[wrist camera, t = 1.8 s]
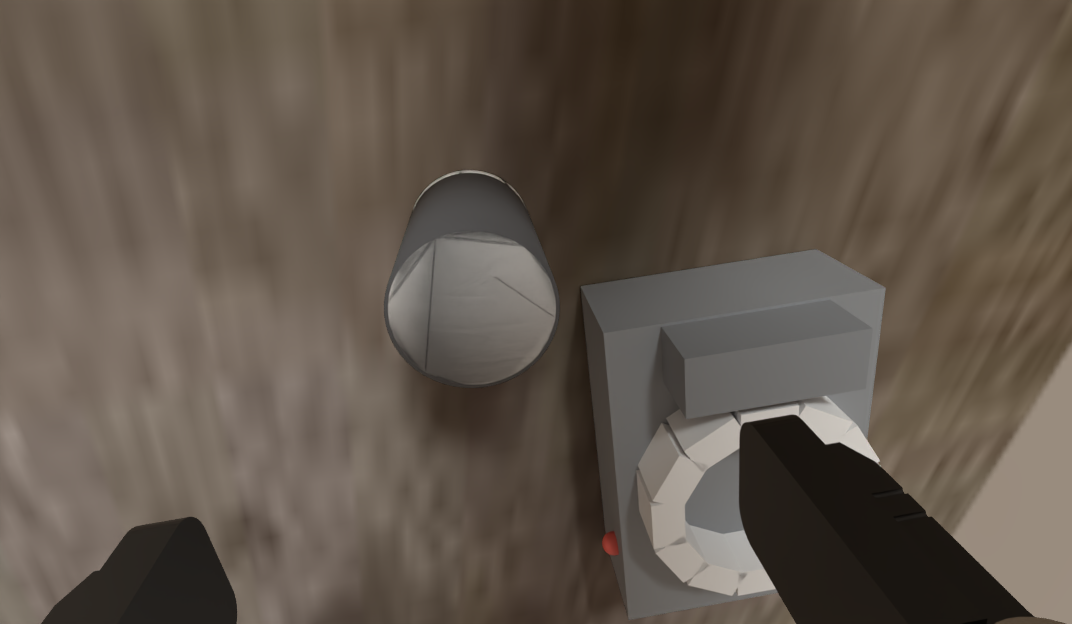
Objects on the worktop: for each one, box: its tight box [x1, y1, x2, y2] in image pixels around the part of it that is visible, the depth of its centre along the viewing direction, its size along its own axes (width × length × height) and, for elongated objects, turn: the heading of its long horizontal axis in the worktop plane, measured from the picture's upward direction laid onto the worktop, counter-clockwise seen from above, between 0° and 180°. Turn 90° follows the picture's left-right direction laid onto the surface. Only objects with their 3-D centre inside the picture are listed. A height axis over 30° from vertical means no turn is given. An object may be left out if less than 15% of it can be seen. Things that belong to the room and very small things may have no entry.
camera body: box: [580, 249, 886, 620], centre depth 24 cm, size 14×11×7 cm
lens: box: [384, 170, 560, 388], centre depth 19 cm, size 5×5×8 cm
